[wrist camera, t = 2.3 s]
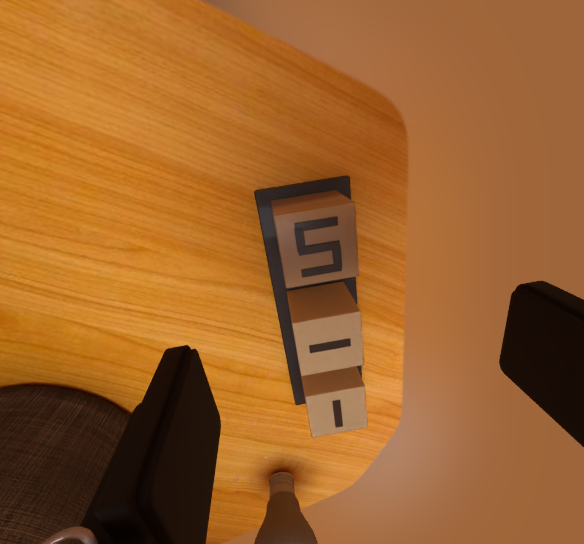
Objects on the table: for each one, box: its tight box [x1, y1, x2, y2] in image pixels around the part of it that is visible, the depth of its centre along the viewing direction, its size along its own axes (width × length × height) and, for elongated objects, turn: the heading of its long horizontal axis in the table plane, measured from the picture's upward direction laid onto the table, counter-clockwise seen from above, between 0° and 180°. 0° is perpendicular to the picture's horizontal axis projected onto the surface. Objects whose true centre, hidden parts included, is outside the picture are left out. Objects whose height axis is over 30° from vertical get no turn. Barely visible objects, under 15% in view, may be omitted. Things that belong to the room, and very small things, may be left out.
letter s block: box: [271, 190, 359, 288], centre depth 19 cm, size 4×4×5 cm
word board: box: [254, 175, 367, 438], centre depth 22 cm, size 20×6×5 cm, turn 8°
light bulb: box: [254, 472, 318, 544], centre depth 28 cm, size 6×6×10 cm
